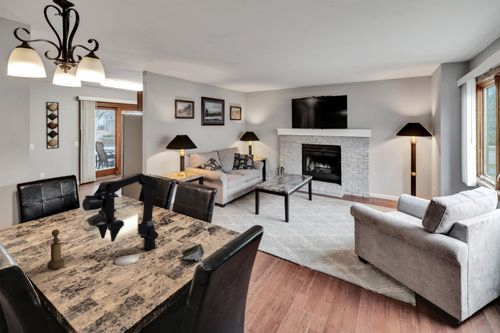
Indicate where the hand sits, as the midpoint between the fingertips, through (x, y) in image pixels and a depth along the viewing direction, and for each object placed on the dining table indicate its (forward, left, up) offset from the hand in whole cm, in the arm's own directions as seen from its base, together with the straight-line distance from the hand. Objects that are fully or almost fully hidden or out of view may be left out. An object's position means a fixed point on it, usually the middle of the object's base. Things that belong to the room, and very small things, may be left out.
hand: (107, 239), depth 120 cm
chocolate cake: (+23, +28, -15) cm, 39 cm away
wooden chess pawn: (-23, -13, -14) cm, 30 cm away
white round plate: (0, +10, -13) cm, 16 cm away
